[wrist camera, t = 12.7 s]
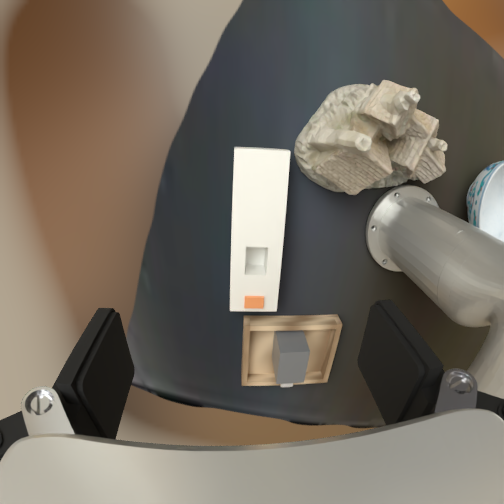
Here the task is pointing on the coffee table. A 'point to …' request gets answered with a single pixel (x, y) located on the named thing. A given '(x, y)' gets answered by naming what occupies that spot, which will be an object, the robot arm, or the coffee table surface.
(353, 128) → the ceramic cottage
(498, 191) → the chinaware
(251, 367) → the tray
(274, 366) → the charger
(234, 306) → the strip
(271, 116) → the coffee table surface
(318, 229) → the coffee table surface
